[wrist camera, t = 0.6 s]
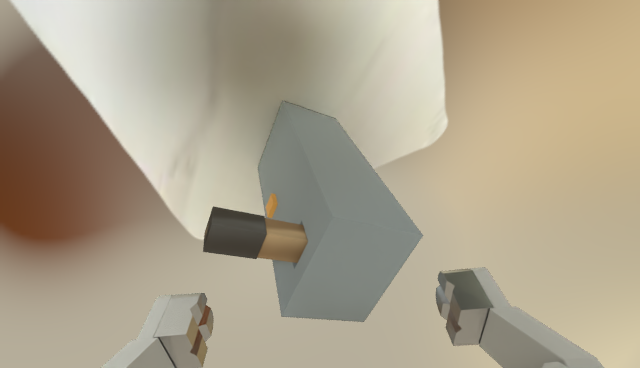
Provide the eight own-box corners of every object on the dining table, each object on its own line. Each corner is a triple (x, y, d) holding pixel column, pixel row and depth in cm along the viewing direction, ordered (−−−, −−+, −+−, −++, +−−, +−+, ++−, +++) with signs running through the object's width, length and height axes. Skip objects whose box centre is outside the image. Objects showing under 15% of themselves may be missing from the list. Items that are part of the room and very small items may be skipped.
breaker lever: (213, 206, 31) (211, 224, 29) (357, 234, 37) (365, 250, 35) (204, 232, 32) (203, 251, 30) (345, 254, 38) (353, 271, 36)
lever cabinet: (278, 99, 53) (326, 215, 28) (335, 118, 58) (423, 235, 32) (254, 166, 59) (275, 316, 33) (308, 180, 63) (364, 321, 37)
